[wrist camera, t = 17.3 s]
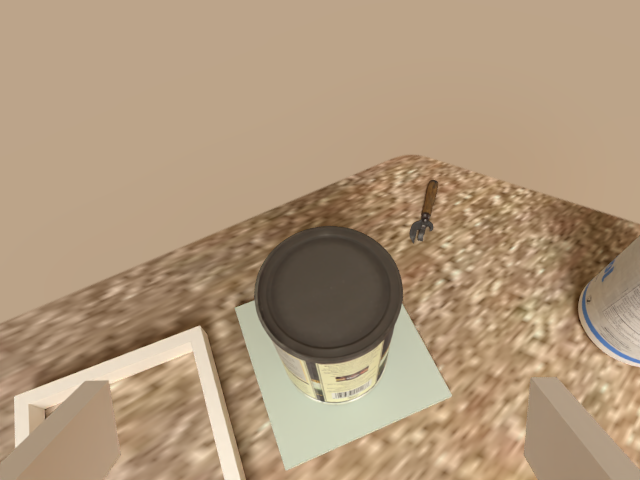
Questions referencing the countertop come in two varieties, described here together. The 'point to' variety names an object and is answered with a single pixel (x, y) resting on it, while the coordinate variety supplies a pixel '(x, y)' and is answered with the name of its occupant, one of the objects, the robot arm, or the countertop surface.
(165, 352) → the holder frame
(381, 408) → the mat
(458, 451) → the countertop surface
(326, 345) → the coffee can
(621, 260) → the supplement tub
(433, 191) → the can opener
